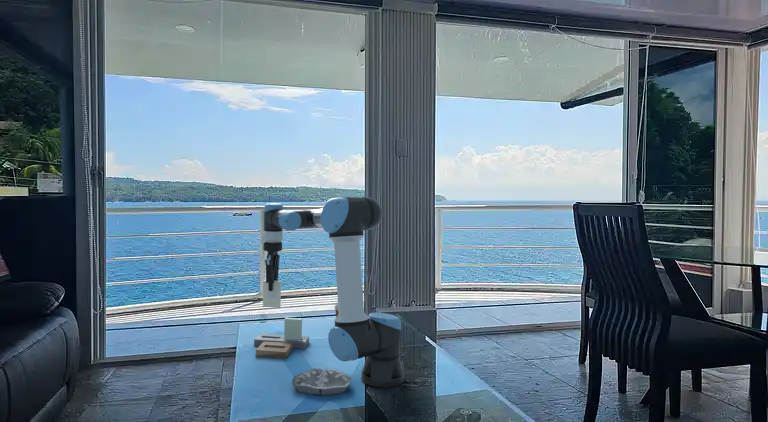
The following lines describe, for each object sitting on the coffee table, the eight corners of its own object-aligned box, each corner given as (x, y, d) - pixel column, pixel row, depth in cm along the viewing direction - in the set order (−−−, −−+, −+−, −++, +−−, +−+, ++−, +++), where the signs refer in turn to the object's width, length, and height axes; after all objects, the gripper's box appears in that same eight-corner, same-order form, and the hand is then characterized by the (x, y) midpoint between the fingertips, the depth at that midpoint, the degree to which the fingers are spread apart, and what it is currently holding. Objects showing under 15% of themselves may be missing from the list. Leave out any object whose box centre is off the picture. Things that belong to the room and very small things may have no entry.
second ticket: (300, 345, 216) (301, 319, 215) (284, 344, 216) (284, 318, 215) (301, 344, 217) (302, 318, 216) (285, 343, 218) (285, 317, 217)
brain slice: (351, 377, 186) (351, 369, 186) (349, 398, 169) (349, 389, 169) (296, 375, 186) (296, 367, 185) (288, 396, 169) (289, 388, 168)
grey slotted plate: (304, 348, 212) (304, 342, 212) (254, 345, 214) (254, 339, 214) (308, 342, 220) (309, 336, 220) (260, 339, 222) (260, 333, 222)
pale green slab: (279, 307, 215) (279, 281, 214) (262, 306, 216) (263, 280, 215) (280, 306, 217) (281, 280, 216) (264, 305, 217) (264, 279, 216)
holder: (286, 358, 201) (286, 351, 201) (255, 356, 202) (255, 349, 202) (292, 349, 211) (292, 343, 211) (263, 347, 212) (263, 341, 212)
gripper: (269, 238, 221) (268, 292, 223) (258, 243, 207) (257, 301, 209) (286, 239, 221) (285, 293, 223) (276, 244, 206) (275, 302, 208)
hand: (271, 297), depth 216 cm, fingers closed on pale green slab, 2 cm apart
